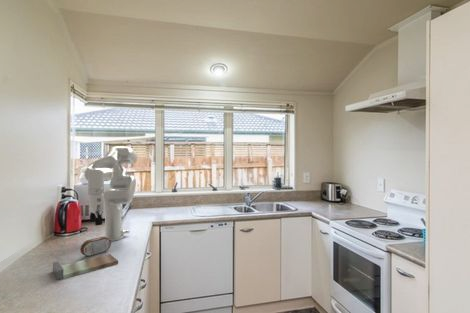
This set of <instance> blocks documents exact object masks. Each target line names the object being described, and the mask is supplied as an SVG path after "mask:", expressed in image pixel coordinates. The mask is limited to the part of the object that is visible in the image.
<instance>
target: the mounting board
mask: <svg viewBox="0 0 470 313" xmlns="http://www.w3.org/2000/svg"><path fill="white" fill-rule="evenodd" d="M114 264H115V265H118V264H119V260H118V259H117V258H115V256H113V255H112V254H111V253H107V254H104V255H99V256H95V257H91V258H87V259H83V260H79V261H73V262H71V263H70V262H69V263H67V264H62V265H61V267H62V268H63V279H68V278H70V277H73V276H78V275H81V274H85V273H89V272H92V271H96V270H100V269H103V268H106V267H110V266H114ZM63 279H62V280H63Z"/></svg>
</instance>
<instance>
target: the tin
mask: <svg viewBox="0 0 470 313" xmlns="http://www.w3.org/2000/svg"><path fill="white" fill-rule="evenodd" d="M111 242H112V241H110V240H109V239H108V238H107V237H104V236H99V237H96V238H91V239H87V240H85V241H84V242H83V243H82V244H81V245H80V253H81V255H83V256H85V257H91V256H95V255H99V254H104V253H106V252H107V251H108V250H109V249H110V247H111V244H112V243H111Z"/></svg>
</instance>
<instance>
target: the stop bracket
mask: <svg viewBox="0 0 470 313" xmlns="http://www.w3.org/2000/svg"><path fill="white" fill-rule="evenodd" d="M61 266H62V265H61V264H60V262H59V261H53V262H52V273H54V276H55V277H56V280H58V281H60V280H63V268H62V267H61Z"/></svg>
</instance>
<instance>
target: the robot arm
mask: <svg viewBox="0 0 470 313" xmlns="http://www.w3.org/2000/svg"><path fill="white" fill-rule="evenodd" d="M137 161H138V155H137V153H136V151H135V150H133V149H132V148H131V147H129V146H113V147H111V148H110V149H109V150H108V151H107V152H106V154H105V155H104V157H102V158H99V159H96V160H95V161H92V162H91V163H89V164H88V166H87V167H86V169H85V171H84V178H85V180H87V195H88V196H89V202H88V203H89V207H88V208H89V223H93V222H94V223H95V224H94V225H95V226H101V225H103V213H104V214H105V215H104V221H105V223H104V228H105V229H104V233H105V234H104V236H103V237H107V238H108V239H109V240H110V242H115V241H119V240H122V239H124V238H125V234H128V233H129V234H130V230H129V229H122V208H121V207H120V205H121V204H122V205H126V204H127V205H128V204H130V203H132V202H133V199H134V196H135V190H136V185H137V180H136V177H135V176H133V175H127V173H128V172H127V169H126V168H125V167H124V165H123V164H125V165H126V164H127V165H130V164H131V165H133V164H136V163H137ZM112 169H113V170H112ZM109 181H110V182H109ZM105 182H109V187H110V188H109V189H106V190H104V189H105V188H104V187H105V184H104V183H105Z"/></svg>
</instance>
